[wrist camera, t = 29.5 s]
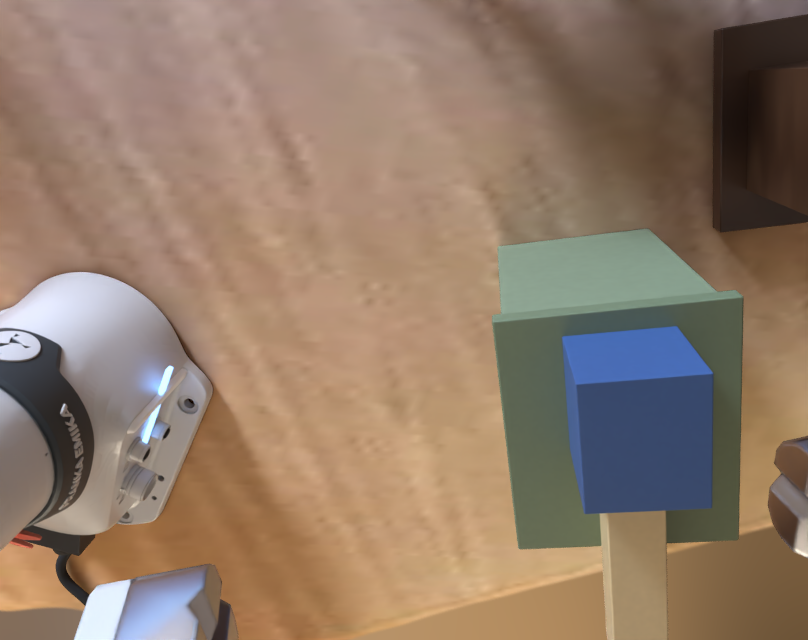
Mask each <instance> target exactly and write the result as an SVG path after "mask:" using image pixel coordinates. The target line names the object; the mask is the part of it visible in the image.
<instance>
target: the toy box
mask: <svg viewBox="0 0 808 640" xmlns="http://www.w3.org/2000/svg"><path fill="white" fill-rule="evenodd" d="M498 264H499V283H500V302H501V314H497V315H493V316H492V325H493V333H494V342H495V351H496V359H497V368H498V377H499V385H500V394H501V403H502V411H503V420H504V429H505V437H506V446H507V455H508V463H509V472H510V481H511V489H512V498H513V507H514V515H515V524H516V533H517V541H518V548H519V549H542V548H566V547H590V546H601V529H600V514H584V511H583V506H582V501H581V497H580V492H579V488H578V483H577V479H576V474H575V470H574V465H573V461H572V456H571V452H570V441H569V427H568V414H567V400H566V386H565V373H564V359H563V345H562V337H563V336H573V335H584V334H595V333H606V332H617V331H628V330H639V329H650V328H661V327H672V326H677V327H678V328H679V329H680V331H681V332H682V333H683V335H684V336H685V337H686V338H687V340H688V341H689V342H690V344H691V345H692V346H693V348H694V349H695V350H696V351H697V353H698V354H699V355H700V357H701V358H702V359H703V361H704V362H705V363H706V364H707V366H708V367H709V368H710V370H711V371H712V372H713V374H714V376H713V476H712V508H711V509H689V510H667V511H666V542H667V543H686V542H710V541H734V540H738V539H739V493H740V443H741V394H742V345H743V296H742V295H741V294H740V293H738V292H737V291H736V290H731V291H721V292H717V291H716V290H715V289H714V288H713V287H712V286H710V285H709V284H708V283H707V282H706V281H705V280H704V279H703V278H702V277H701V276H700V275H698V274H697V273H696V272H695V271H694V270H693V269H692V268H691V267H690V266H689V265H688V264H686V263H685V262H684V261H683V260H682V259H681V258H680V257H679V256H678V255H677V254H676V253H674V252H673V251H672V250H671V249H670V248H669V247H668V246H667V245H666V244H665V243H664V242H663V241H661V240H660V239H659V238H658V237H657V236H656V235H655V234H654V233H653V232H652V231H651V230H649V229H639V230H631V231H623V232H615V233H606V234H598V235H590V236H581V237H573V238H565V239H556V240H548V241H540V242H531V243H523V244H515V245H506V246H499V247H498Z"/></svg>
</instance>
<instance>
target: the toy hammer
mask: <svg viewBox="0 0 808 640" xmlns="http://www.w3.org/2000/svg"><path fill="white" fill-rule="evenodd" d="M562 345H563V359H564V373H565V386H566V400H567V414H568V427H569V441H570V452H571V456H572V461H573V465H574V470H575V474H576V479H577V483H578V488H579V492H580V497H581V501H582V506H583V511H584V514H600V529H601V547H602V564H603V581H604V597H605V615H606V633H607V638H608V640H668V602H667V601H668V600H667V599H668V598H667V542H666V511H667V510H689V509H711V508H712V476H713V376H714V374H713V372H712V371H711V370H710V368H709V367H708V366H707V364H706V363H705V362H704V361H703V359H702V358H701V357H700V355H699V354H698V353H697V351H696V350H695V349H694V348H693V346H692V345H691V344H690V342H689V341H688V340H687V338H686V337H685V336H684V335H683V333H682V332H681V331H680V329H679V328H678V327H677V326H672V327H661V328H650V329H639V330H628V331H617V332H606V333H595V334H584V335H573V336H563V337H562Z"/></svg>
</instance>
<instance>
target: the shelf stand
mask: <svg viewBox="0 0 808 640" xmlns="http://www.w3.org/2000/svg"><path fill="white" fill-rule="evenodd" d="M806 222H808V14H806V15H800V16H794V17H788V18H782V19H776V20H770V21H764V22H758V23H752V24H746V25H740V26H734V27H728V28H723V29H718V30H715V31H714V93H713V228H715V229H716V230H718V231H719V232H729V231H737V230H746V229H754V228H763V227H772V226H780V225H789V224H797V223H806Z"/></svg>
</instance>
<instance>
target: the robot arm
mask: <svg viewBox="0 0 808 640" xmlns="http://www.w3.org/2000/svg"><path fill="white" fill-rule="evenodd" d="M212 393H213V387H212V384H211V382H210V381H209V379H208V378H207V377H206V375H205V374H204V373H203V372H202V371H201V370H200V369H199V368H198V367H197V366H196V365H195V364H194V363H193V362H192V361H191V360H190V359H189V358H188V356H187V355H186V353H185V351H184V349H183V347H182V345H181V343H180V341H179V339H178V337H177V335H176V333H175V331H174V329H173V327H172V326H171V324H170V323H169V321H168V320H167V318H166V317H165V316H164V315H163V313H162V312H161V311H160V310H159V309H158V308H157V307H156V306H155V305H154V304H153V303H152V302H151V301H150V300H149V299H148V298H146V297H145V296H144V295H143V294H141V293H140V292H139V291H137V290H135V289H134V288H132V287H131V286H129V285H127V284H125V283H123V282H121V281H119V280H116V279H114V278H111V277H108V276H104V275H101V274H95V273H88V272H72V273H65V274H61V275H57V276H54V277H51V278H49V279H47V280H45V281H44V282H42V283H40V284H39V285H38V286H36V287H35V288H34V289H33V290H32V291H31V292H30V293H29V294H28V295H26V296H25V297H24V298H23V299H22V300H21V301H20V302H18V303H17V304H16V305H14V306H13V307H11V308H8V309H5V310H2V311H0V551H1V550H2V549H3V548H4V547H5V546H6V545H7V544H8V543H11V544H14V545H18V546H22V547H26V548H31V549H32V548H33V545H32V544H30V543H34V544H38V545H41V546H45V547H48V548H52V549H53V551H54V552H55V553H56V554H58V555H59V557H58V559H57V562H56V572H57V576H58V578H59V580H60V582H61V583H62V585H63V586H64V587H65V588H66V589H67V590H68V591H69V592H70V593H71V594H73V595H74V596H75V597H76V598H77V599H78V600H80V601H81V602H82V603H83V604H84V605H85V609H84V612H83V614H82V617H81V620H80V623H79V626H78V629H77V632H76V635H75V638H74V640H239V636H238V630H237V625H236V620H235V616H234V613H233V610H232V608H231V605H230V604H228V603H226V602H225V601H223V600H221V599H220V597H221V588H222V581H221V578H220V576H219V573H218V571H217V569H216V566H215V565H213V564H205V565H200V566H194V567H189V568H184V569H178V570H173V571H168V572H162V573H157V574H152V575H146V576H141V577H136V578H135V579H129V580H124V581H119V582H113V583H108V584H102V585H98V586H97V587H96V588H95V589H94V590H93V592H92V593H91V594H90V595H89V594H88V593H87V592H85V591H84V590H83V589H82V588H81V587H80V586H78V585H77V584H76V583H75V582H74V581H73V580H72V579H71V577H70V576H69V575H68V573H67V571H66V562H67V560H68V558H69V556H70V555H71V554H74V555H77V556H79V555H80V554H81V553H82V552H83V551H84V550H85V548H86V547H87V546H88V545H89V544H90V543H91V542H92V540H93V539H94V538H95V534H98V533H101V532H105V531H107V530H108V529H110V528H111V527H113V526H114V525H115V524H127V525H131V524H143V523H148V522H152V521H154V520H155V519H156V518H157V517H158V516H159V515H160V514H161V513H162V511H163V509H164V507H165V505H166V502H167V500H168V498H169V495H170V493H171V491H172V488H173V486H174V484H175V481H176V479H177V477H178V474H179V472H180V470H181V467H182V465H183V462H184V460H185V458H186V455H187V453H188V451H189V448H190V446H191V444H192V441H193V439H194V437H195V434H196V432H197V430H198V427H199V425H200V423H201V420H202V418H203V415H204V413H205V411H206V408H207V406H208V404H209V401H210V399H211V397H212ZM188 399H192V400H193V401H194V404H192V403H190V402H189V401H188ZM774 464H775V465H776V467H777V468H778V469H779V470H780V472H781V475H780V476H779V477H778V478H777V479H776V480H775V482H774V483H773V484H772V485H771V486H770V490H769V498H768V508H769V512H770V515H771V519H772V522H773V525H774V526H775V528H776V530H777V531H778V533H779V535H780V536H781V538H782V539H783V540H784V542H785V543H786V544H787V545H788V546H789V547H790V548H791V549H792V551H793V552H796V553H798V554H800V555H802V556H804V557H806V558H808V436H805V437H801V438H796V439H792V440H787V441H783V442H782V444H781V445H780V446H779V447H778V449H777V451H776V456H775V461H774ZM127 512H128V513H127ZM25 541H27V542H25ZM28 542H30V543H28Z"/></svg>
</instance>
